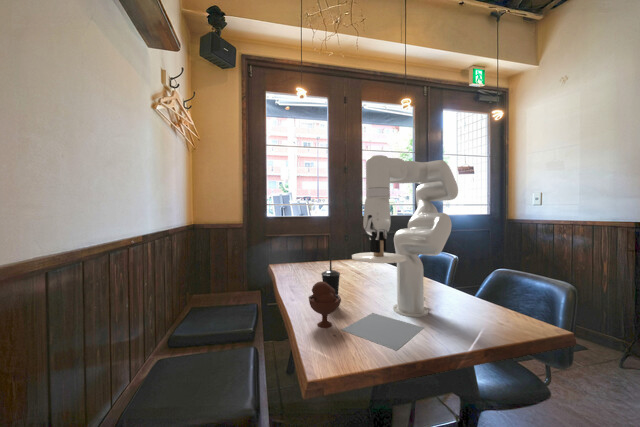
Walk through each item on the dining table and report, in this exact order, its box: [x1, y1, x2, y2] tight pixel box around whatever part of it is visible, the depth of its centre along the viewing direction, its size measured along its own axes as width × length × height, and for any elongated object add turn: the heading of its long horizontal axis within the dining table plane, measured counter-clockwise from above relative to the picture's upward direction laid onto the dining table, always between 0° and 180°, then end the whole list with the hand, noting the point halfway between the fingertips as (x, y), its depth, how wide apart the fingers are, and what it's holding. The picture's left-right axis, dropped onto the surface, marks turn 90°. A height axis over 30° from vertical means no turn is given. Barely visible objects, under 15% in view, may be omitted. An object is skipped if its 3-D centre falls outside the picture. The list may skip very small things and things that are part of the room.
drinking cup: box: [320, 257, 341, 295], centre depth 104 cm, size 8×8×20 cm
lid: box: [351, 240, 406, 264], centre depth 83 cm, size 17×17×6 cm
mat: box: [341, 312, 425, 351], centre depth 82 cm, size 19×19×1 cm
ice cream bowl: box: [307, 281, 342, 329], centre depth 86 cm, size 11×11×15 cm
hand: (378, 251), depth 83 cm, fingers closed on lid, 3 cm apart
